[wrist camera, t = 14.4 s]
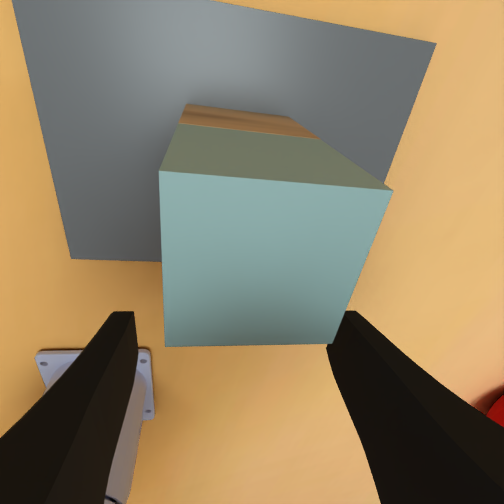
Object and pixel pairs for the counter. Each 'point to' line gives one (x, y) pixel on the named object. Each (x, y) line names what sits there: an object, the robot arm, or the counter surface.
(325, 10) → the counter surface
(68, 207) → the baseplate
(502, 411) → the tomato
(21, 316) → the counter surface
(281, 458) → the counter surface
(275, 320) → the teal block
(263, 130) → the brown wooden cube
